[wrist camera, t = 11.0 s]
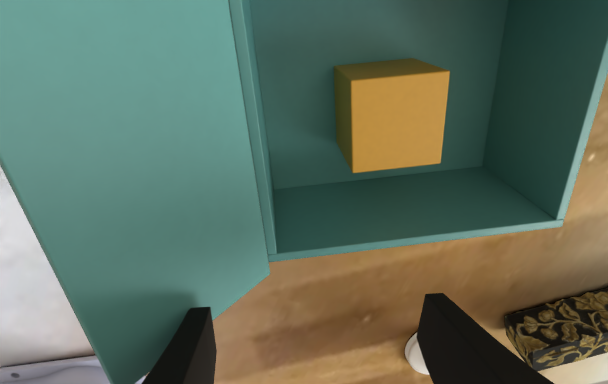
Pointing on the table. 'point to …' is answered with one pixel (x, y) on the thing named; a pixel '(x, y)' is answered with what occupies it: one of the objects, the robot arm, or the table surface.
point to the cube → (390, 113)
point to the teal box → (458, 120)
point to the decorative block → (561, 330)
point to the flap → (132, 163)
